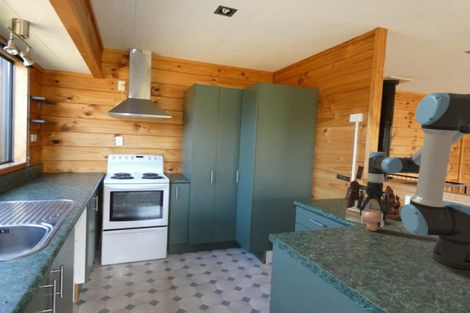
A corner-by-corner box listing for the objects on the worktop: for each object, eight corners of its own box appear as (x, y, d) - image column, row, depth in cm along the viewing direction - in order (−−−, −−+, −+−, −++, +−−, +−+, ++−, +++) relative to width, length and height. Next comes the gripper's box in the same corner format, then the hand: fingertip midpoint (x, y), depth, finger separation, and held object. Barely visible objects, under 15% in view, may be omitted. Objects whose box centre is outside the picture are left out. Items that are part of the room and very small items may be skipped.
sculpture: (406, 220, 170) (409, 187, 169) (396, 221, 167) (399, 187, 166) (382, 213, 186) (385, 182, 184) (373, 214, 183) (375, 183, 181)
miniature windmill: (332, 207, 197) (335, 164, 195) (335, 204, 207) (338, 163, 204) (372, 213, 185) (375, 167, 183) (373, 209, 195) (376, 165, 193)
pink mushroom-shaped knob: (377, 233, 143) (378, 215, 142) (359, 228, 149) (360, 211, 149) (384, 229, 149) (385, 212, 149) (366, 225, 156) (367, 209, 155)
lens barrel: (367, 212, 161) (367, 203, 161) (352, 209, 167) (353, 201, 167) (373, 210, 167) (373, 202, 167) (358, 207, 173) (359, 199, 173)
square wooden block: (369, 225, 158) (370, 214, 158) (345, 219, 168) (345, 209, 168) (379, 220, 168) (379, 210, 167) (355, 215, 178) (356, 205, 177)
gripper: (400, 184, 143) (397, 228, 144) (357, 178, 158) (354, 218, 159) (395, 185, 137) (392, 231, 139) (351, 179, 153) (348, 220, 154)
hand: (372, 224), depth 149 cm, fingers closed on pink mushroom-shaped knob, 9 cm apart
